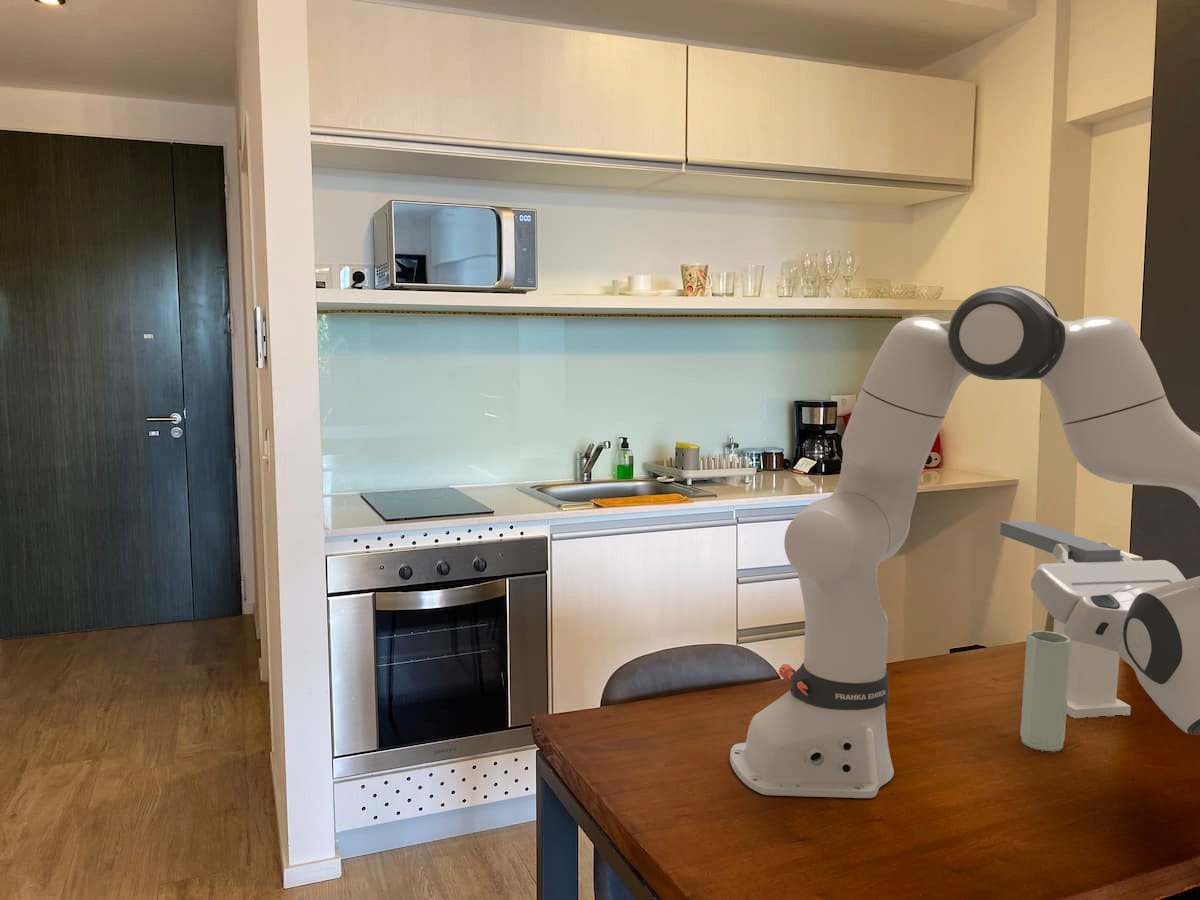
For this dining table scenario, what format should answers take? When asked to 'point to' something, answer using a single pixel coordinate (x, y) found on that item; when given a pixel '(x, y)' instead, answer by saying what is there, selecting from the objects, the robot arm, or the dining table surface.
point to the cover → (1059, 541)
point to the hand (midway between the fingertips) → (1079, 546)
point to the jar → (1045, 690)
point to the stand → (1093, 676)
